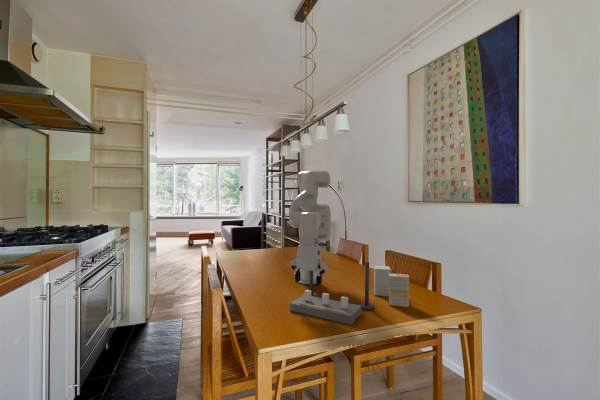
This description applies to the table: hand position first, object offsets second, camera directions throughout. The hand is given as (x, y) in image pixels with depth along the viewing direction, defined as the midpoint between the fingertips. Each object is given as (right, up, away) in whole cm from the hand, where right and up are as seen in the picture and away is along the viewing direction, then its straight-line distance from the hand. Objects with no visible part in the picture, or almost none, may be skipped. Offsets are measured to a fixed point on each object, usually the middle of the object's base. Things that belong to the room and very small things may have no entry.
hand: (308, 283), depth 122 cm
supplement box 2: (+39, -11, +4) cm, 41 cm away
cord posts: (+13, -10, +7) cm, 18 cm away
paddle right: (+14, -8, -8) cm, 18 cm away
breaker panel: (+7, -10, -4) cm, 13 cm away
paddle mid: (+7, -7, -4) cm, 11 cm away
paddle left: (0, -7, 0) cm, 7 cm away
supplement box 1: (+36, -11, +20) cm, 43 cm away
